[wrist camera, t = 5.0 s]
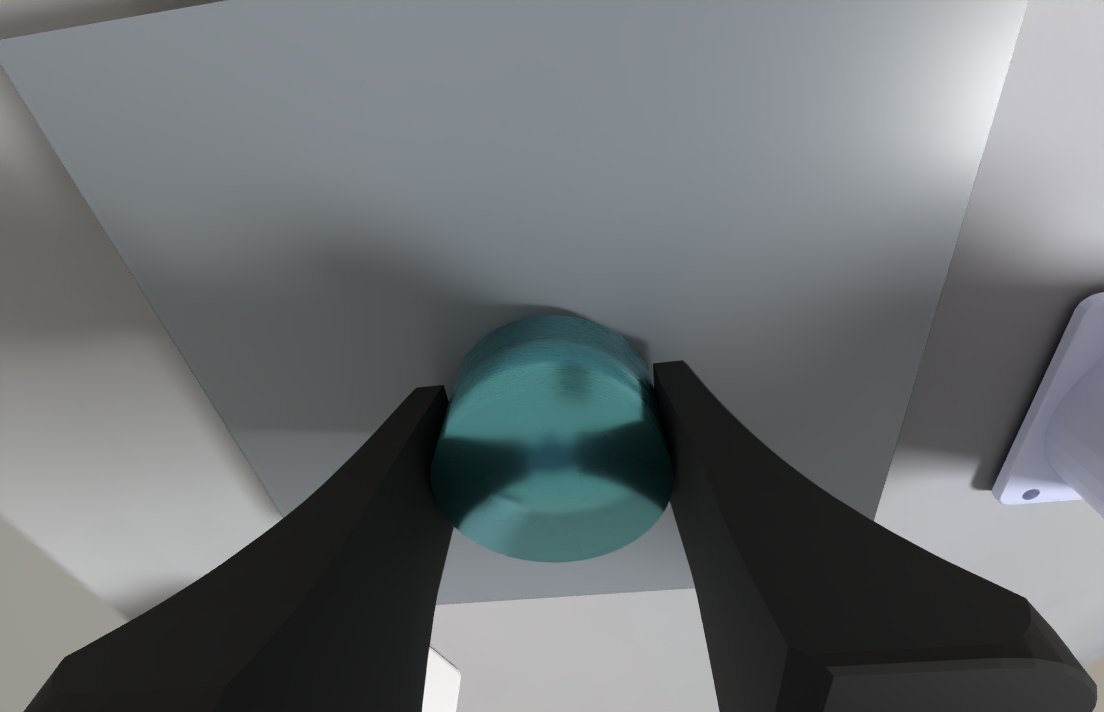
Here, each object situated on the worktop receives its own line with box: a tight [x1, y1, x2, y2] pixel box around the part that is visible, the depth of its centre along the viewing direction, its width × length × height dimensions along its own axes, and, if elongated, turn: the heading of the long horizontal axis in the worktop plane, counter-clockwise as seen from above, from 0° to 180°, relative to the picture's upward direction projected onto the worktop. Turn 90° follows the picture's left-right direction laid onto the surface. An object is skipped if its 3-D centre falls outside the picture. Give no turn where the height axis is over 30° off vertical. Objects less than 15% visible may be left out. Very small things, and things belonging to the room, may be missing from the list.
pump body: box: [0, 0, 1028, 605], centre depth 14 cm, size 16×16×4 cm
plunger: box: [430, 315, 674, 563], centre depth 12 cm, size 4×4×6 cm
